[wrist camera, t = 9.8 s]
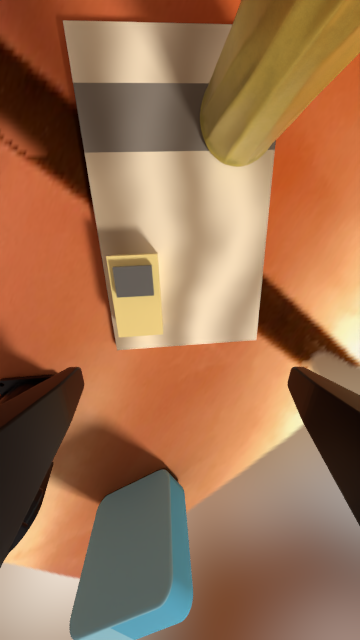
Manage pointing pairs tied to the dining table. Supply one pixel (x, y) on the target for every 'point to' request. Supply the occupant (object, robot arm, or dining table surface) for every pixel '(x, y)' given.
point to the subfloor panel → (169, 176)
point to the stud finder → (136, 294)
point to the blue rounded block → (135, 563)
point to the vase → (274, 71)
